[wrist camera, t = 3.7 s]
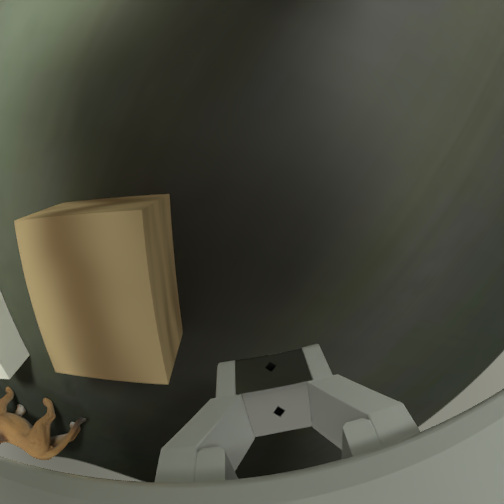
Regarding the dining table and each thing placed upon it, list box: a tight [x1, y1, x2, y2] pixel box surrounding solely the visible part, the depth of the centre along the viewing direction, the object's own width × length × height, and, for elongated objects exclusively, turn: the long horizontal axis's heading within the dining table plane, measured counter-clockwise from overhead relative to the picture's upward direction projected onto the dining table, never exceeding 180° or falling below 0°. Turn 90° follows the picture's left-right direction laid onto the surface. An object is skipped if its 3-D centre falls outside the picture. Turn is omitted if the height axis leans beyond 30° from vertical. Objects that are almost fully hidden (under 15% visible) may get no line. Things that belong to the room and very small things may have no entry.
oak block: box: [14, 194, 183, 384], centre depth 18 cm, size 8×10×6 cm
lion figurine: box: [0, 387, 87, 460], centre depth 20 cm, size 15×5×9 cm, turn 96°
